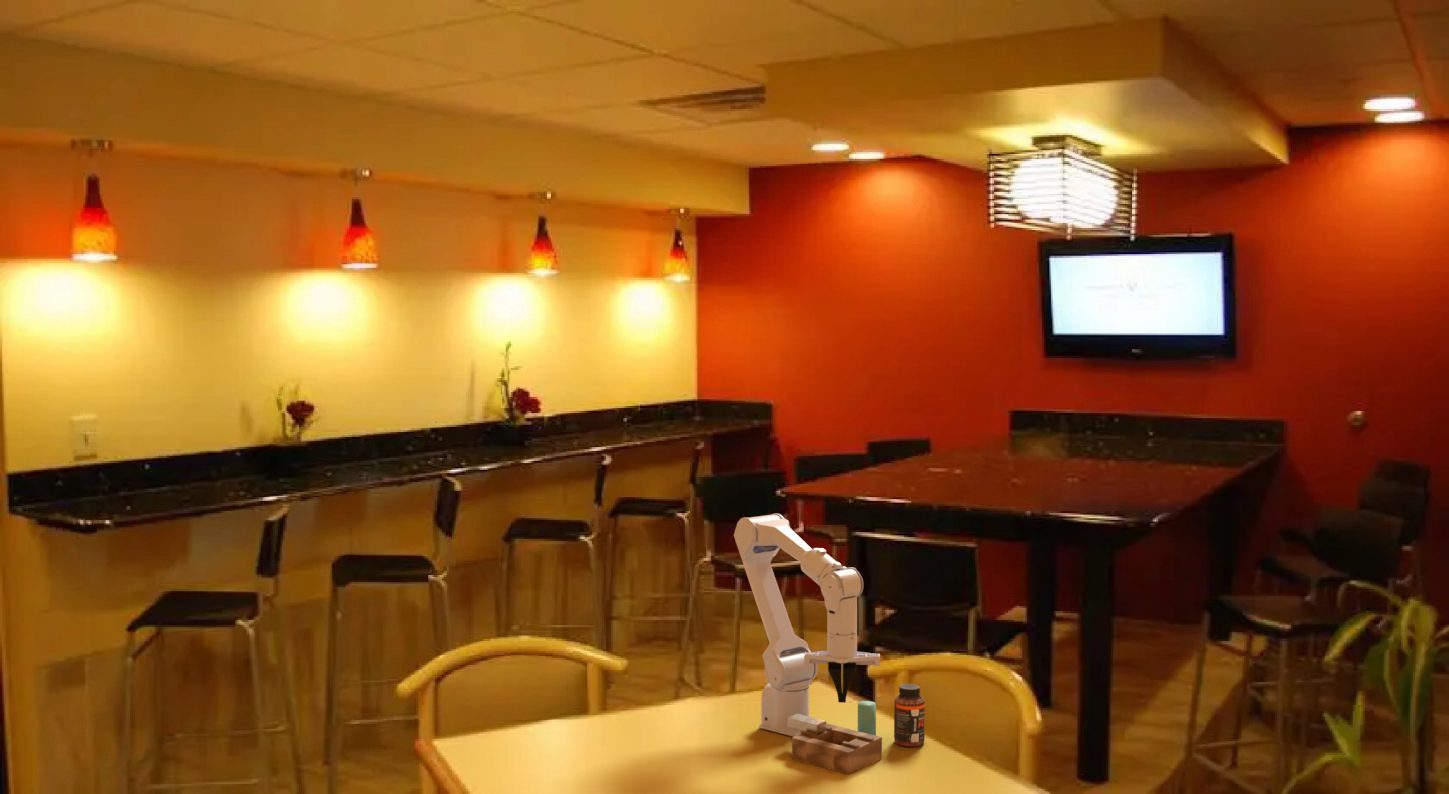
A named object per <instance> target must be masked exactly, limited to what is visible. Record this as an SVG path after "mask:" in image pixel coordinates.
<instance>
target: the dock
mask: <svg viewBox="0 0 1449 794" xmlns="http://www.w3.org/2000/svg"><path fill="white" fill-rule="evenodd" d="M882 758H883V737H881V736H878V735H876V736H875V735H871V734H867V733H863V732H859V731H858V730H855V729H850V728H847V727H846V728H845V727H842V726H839V725H835V724H831V723H827V722H826V730H825V731H823V732H821V733H818V734H815V733H811V732H807V731H801V734H800V735H797V736H795V737H792V738H791V759H792V760H796V761H800V762H804V763H807V764H811V765H814V766H817V765H818V767H821V768H823V769H824V768H825V769H828V770H832V771H836V772H839V771H840V773H842V772H843V774H846V773H847V774H846V775H850V774H852V773H854V772H856V771H858V770H860V769H862V768H864V767H867V766H868V765H870V764H873V763H875V762H877V761H879V760H881V759H882ZM876 760H877V761H876ZM874 761H875V762H874ZM872 762H873V763H872ZM829 768H830V769H829Z"/></svg>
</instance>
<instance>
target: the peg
mask: <svg viewBox="0 0 1449 794" xmlns="http://www.w3.org/2000/svg"><path fill="white" fill-rule="evenodd" d="M876 705H877V703H876V702H874V701H871V700H861V701H858V702H857V731H859V732H863V733H867V734H871V735H875V736H877V706H876Z"/></svg>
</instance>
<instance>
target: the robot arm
mask: <svg viewBox="0 0 1449 794" xmlns="http://www.w3.org/2000/svg"><path fill="white" fill-rule="evenodd" d="M733 537H734V539H735V545H736V546H737V549H738V552H739V556H740V558H741V561H742V564H743V567H744V571H745V574H746V576H747V579H748V582H749V585H750V588H751V591H752V593H753V598H754V600H755V604H756V607H757V608H758V612H759V615H760V618H761V621H762V624H763V628H764V630H765V633H766V637H767V640H768V642H769V643H768V645H767V647H766V649H764V652H763V654H762V655H761V656H762V659H763V663H764V676H765V677H766V680H767V682H768V683H767V684H766V685H765V686H764V688H763V689H762V692H761V698H760V699H761V700H760V703H761V706H760V707H761V710H760V712H761V714H760V715H761V719H760V720H761V724H759V725H758V727H759V729H762V730H766V731H771V732H773V733H774V732H775V733H778V734H781V735H785V736H790V737H792V738H793V737H795V736H797V735H800V734H801V731H803V730H799V729H795V728H792V727H788V717H790V716H793V715H795V714H801V715H805V716H809V717H810V686H811V685H812V684H813V682H812V681H813V680H814V679H815V678H816V677H817V673H818V670H819V669H818V665H827V670H828V672H829V675H830V677H831V679H832V682H833V684H834V687H835V689H836V694H837V699H838V700H837V701H838V703H843V704H844V703H846V702H847V700H846V699H847V696H848V695H847V694H848V691H849V687H850V684H851V682H852V679H853V677H854V675H855V673H856V670H857V665H859V666H860V665H861V666H864V665H865V666H866V665H867V666H874V667H880V666H881V654H880V653H871V652H865V651H858V597H860V596H861V594H862V593H863V591H864V579H863V577H862V575H861V573H860V572H859V571H858V570H857V568H856V567H852V566H851V567H850V566H849V567H846V566H843V565H842V564H841V563H840V562H839V561H837V560H835V559H834V558H833V557H831V556H830V554H828V553H827V550H826V549H825V548H823V547H821V548H820V547H814V548H812V547H810V546H809V545H808V544H807V543H806V541H804V540H803V539H802V538H801V537H800V536H799V535H798V534H797V533H795V531H794V530H793V529H792V528H791V526H790V521H789V520H788V519H787V518H785V517H784V516H783V514H780V513H772V514H767V515H760V516H751V517H741V518H740V519H739V520H738V521H737V523H736V526H735V529H734V533H733ZM780 549H781V550H782V551H784V552H785V553H786V554H788V555H789V556H791V557H792V558H794V559H795V560H797V561H798V562H799V563H800V569H801V571H802V572H803V573H804V574H805V575H806V576H808V577H809V579H811V580H812V581H813V582H815V583H816V584H817V585H818V586H819V587H820V591H821V594H822V596H823V599H824V606H825V609H826V612H827V614H826V618H827V622H826V624H827V625H826V626H827V632H826V633H827V634H826V635H827V636H826V637H827V643H826V645H827V647H826V649H827V650H821V651H820V650H819V651H811V649H810V647H809V644H808V642H807V641H806V640H804V639H802V638H800V637H799V636H798V635H796V634H795V631H794V629H793V626H792V623H791V620H790V618H789V615H788V611H787V609H786V605H785V603H784V600H783V597H782V593H781V591H780V587H779V585H778V582H777V579H776V577H775V573H774V571H773V568H772V565H771V563H772V560H773V558H774V557H776V555H777V554H778V553H779V551H780Z"/></svg>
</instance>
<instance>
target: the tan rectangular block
mask: <svg viewBox="0 0 1449 794" xmlns="http://www.w3.org/2000/svg"><path fill="white" fill-rule="evenodd" d="M826 723H827V720H824V719H820V718H817V717H813V716H810V715H809V716H805V715H801V714H795V715H793V716H790V717H788V727H792V728H795V729H799V730H803V731H807V732H811V733H815V734H818V733H821V732H823V731H825V730H826Z"/></svg>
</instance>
